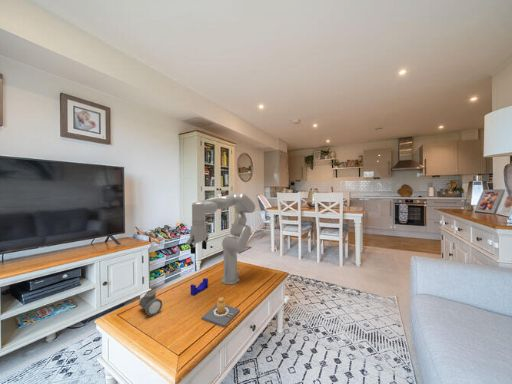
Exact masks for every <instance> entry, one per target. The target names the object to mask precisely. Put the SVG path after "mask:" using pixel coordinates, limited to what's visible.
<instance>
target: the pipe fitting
mask: <svg viewBox="0 0 512 384" xmlns="http://www.w3.org/2000/svg"><path fill="white" fill-rule="evenodd" d="M156 295H157V291H154V290H151V291H148V292H146V293H145V294H144V296H142V297H141V299H140V300H139V304H138V305H139V306H140V307H141V308H142V309H144V311H145V313H146V314H147V316H150V317H154V316H156V315H158V314H159V313H160V311H161V310H162V308H163V301H162V300H161V299H159V298H156Z"/></svg>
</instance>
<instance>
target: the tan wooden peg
mask: <svg viewBox="0 0 512 384" xmlns="http://www.w3.org/2000/svg"><path fill="white" fill-rule="evenodd" d="M216 305H217V314H219V315H221V314H225V305H226V300H225V297H223V296H220V297H218V300H217V301H216Z"/></svg>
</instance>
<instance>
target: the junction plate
mask: <svg viewBox="0 0 512 384" xmlns="http://www.w3.org/2000/svg"><path fill="white" fill-rule="evenodd" d="M239 313H240V308H237V307H233V306H230V305H226V304H225V314H221V315H219V314H217V304H216V305H214V306H213V307H212V308H210V309H209V310H208V311H207V312H206V313H205V314H203V315H202V316H201V320H202V321H205V322H207V323H210V324H212V325H213V324H214V325H216V326H219V327H221V326H222V328H224V327H225V326H226V325H227V324H228V323H229V324H230V323H231V321H232V320H233V319H234V318H236V316H237V315H239ZM229 324H228V325H229ZM228 325H227V326H228ZM227 326H226V327H227ZM226 327H225V328H226Z"/></svg>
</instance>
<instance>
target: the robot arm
mask: <svg viewBox="0 0 512 384" xmlns="http://www.w3.org/2000/svg"><path fill="white" fill-rule="evenodd" d="M233 206H234V209H235V213H236V217H235V220H234V221H233V224H232V225H231V228H230V231H229V233H230V235H231V236H225V237H224V238H222V241H221V246H222V250H223V251H222V252H223V277H222V278H221V282H222V284H225V285H235V284H237V283H239V282H240V277H239V276H238V275H239V274H240V272H241V271H239V270H238V254H237V253H242V252H243V251H244V250H245V249H246V246H247V245H248V242H249V239H250V237H251V234H252V229H251V226H250V225H249V224H247V221H248V220H247V216H246V213H248V214H252V213H254V212H255V211H256V205H255V203H254V201H253V200H252V198H250V197H249V196H248V195H247V194H245V193H236V192H235V193H231V194H227V195H222V196H218V197H212V198H207V199H204V200H200V201H198V202H197V201H196V202H192V204H191V226H190V228H189V229H190V231H189V239H188V240H187V244H188V246H189V248H190V254H192V255H196V244H199V243H201V249H202V250H207V248H208V246H207V245H208V240H209V236H210V234H208V233H207V227H206V214H211V215H212V214H215V213H216V212H217V211H218V210H222V209H228V208H231V207H233Z"/></svg>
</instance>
